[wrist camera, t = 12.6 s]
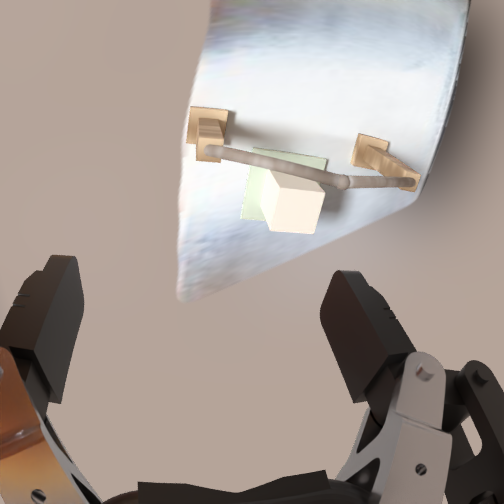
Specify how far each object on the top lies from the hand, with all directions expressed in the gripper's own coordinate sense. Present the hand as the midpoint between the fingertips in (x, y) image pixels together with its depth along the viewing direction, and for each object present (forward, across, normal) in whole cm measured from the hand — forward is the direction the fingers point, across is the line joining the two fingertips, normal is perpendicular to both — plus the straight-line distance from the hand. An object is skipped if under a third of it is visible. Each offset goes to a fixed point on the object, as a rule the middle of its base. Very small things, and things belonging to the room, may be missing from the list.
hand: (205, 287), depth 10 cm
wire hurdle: (+28, -11, +1) cm, 30 cm away
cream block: (+28, -11, +8) cm, 31 cm away
